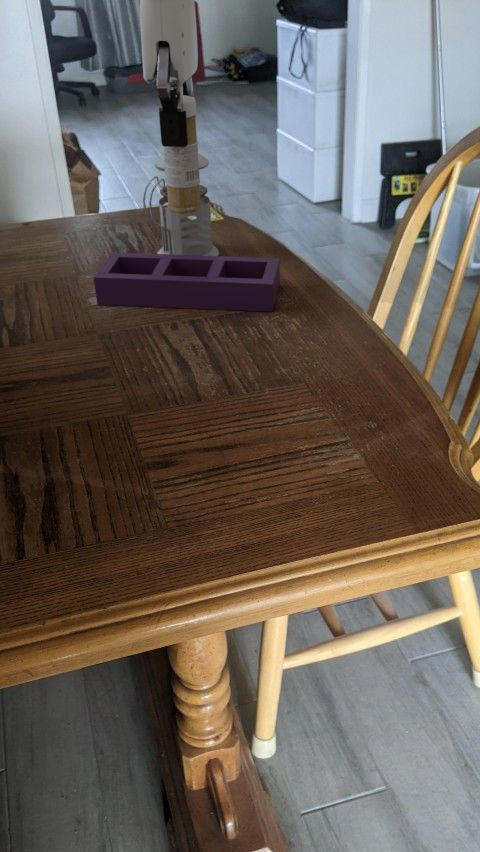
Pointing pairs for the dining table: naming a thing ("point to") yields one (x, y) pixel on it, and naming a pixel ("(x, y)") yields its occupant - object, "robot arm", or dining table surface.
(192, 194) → the sprinkles bottle
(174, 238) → the french press
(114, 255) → the compartment tray
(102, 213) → the dining table surface
